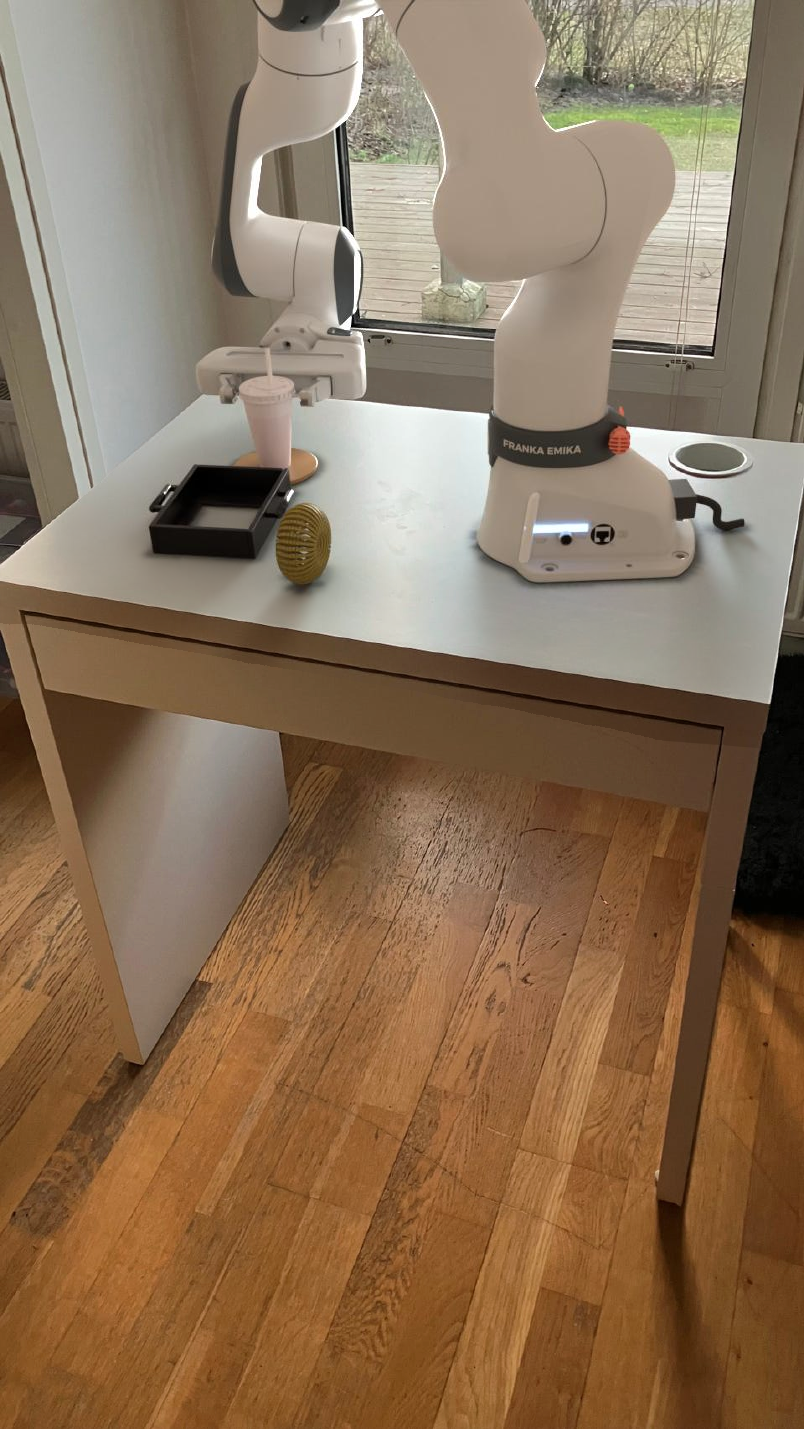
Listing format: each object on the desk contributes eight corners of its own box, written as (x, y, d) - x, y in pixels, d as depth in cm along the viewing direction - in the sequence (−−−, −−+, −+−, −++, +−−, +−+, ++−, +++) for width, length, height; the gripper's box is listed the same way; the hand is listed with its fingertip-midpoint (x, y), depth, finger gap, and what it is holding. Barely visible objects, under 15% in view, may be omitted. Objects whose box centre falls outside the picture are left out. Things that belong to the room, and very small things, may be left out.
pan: (307, 494, 135) (305, 468, 133) (272, 560, 123) (269, 532, 121) (182, 489, 137) (178, 463, 135) (136, 552, 125) (131, 525, 123)
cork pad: (326, 452, 144) (325, 448, 144) (306, 489, 136) (306, 485, 136) (246, 449, 145) (246, 445, 145) (223, 485, 138) (222, 481, 137)
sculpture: (303, 557, 123) (296, 487, 118) (339, 562, 122) (334, 491, 117) (273, 596, 117) (264, 523, 112) (311, 601, 116) (304, 528, 111)
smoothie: (293, 477, 137) (281, 359, 129) (240, 474, 139) (225, 357, 130) (307, 454, 142) (297, 339, 134) (256, 451, 144) (243, 337, 135)
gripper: (211, 328, 145) (174, 369, 134) (374, 332, 142) (350, 374, 131) (218, 378, 149) (182, 422, 138) (377, 383, 146) (353, 428, 135)
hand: (265, 399), depth 135 cm, fingers open, 8 cm apart
